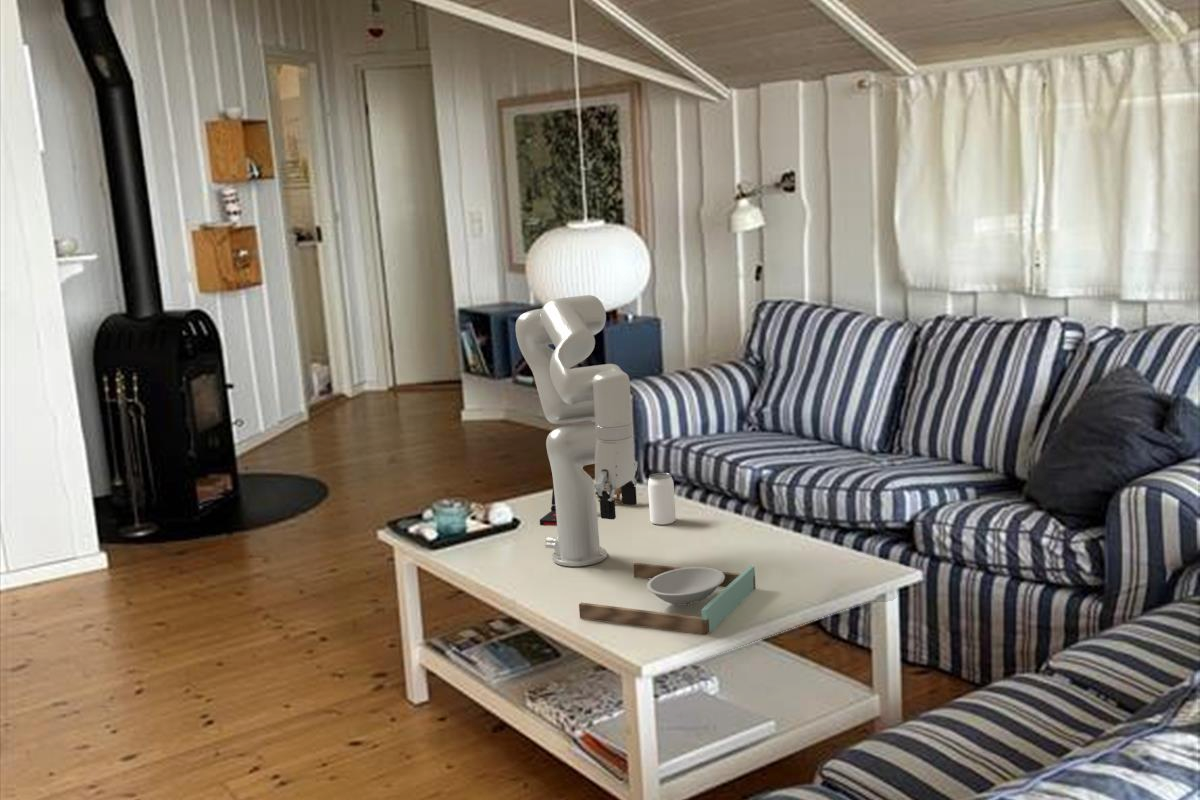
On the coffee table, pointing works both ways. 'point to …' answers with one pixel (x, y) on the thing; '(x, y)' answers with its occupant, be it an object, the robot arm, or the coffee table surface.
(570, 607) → the coffee table surface
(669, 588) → the dish
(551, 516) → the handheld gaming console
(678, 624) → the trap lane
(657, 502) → the can
